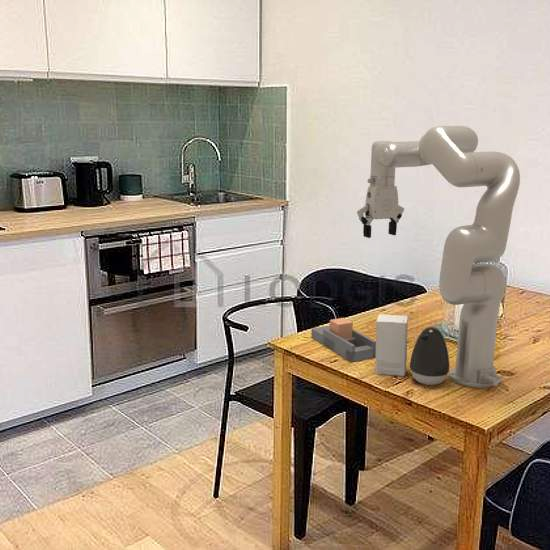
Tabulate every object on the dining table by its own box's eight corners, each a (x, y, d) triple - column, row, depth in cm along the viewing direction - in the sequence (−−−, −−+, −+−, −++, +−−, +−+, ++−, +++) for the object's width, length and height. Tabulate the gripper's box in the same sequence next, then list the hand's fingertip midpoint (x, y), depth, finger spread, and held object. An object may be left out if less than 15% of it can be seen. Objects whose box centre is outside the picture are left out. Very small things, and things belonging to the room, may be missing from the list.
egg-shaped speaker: (400, 381, 171) (404, 327, 168) (422, 370, 178) (426, 318, 175) (434, 393, 164) (438, 337, 161) (455, 381, 171) (459, 327, 168)
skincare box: (406, 368, 180) (409, 315, 176) (404, 377, 174) (407, 322, 170) (376, 365, 182) (379, 312, 178) (373, 374, 176) (376, 320, 172)
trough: (375, 357, 187) (376, 341, 186) (351, 362, 184) (352, 346, 183) (334, 333, 207) (334, 318, 206) (311, 337, 204) (311, 322, 202)
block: (352, 338, 195) (352, 322, 193) (338, 340, 192) (338, 324, 191) (343, 333, 199) (343, 317, 198) (329, 335, 197) (329, 319, 196)
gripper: (366, 184, 193) (363, 240, 197) (412, 181, 200) (409, 235, 205) (352, 181, 199) (350, 236, 204) (397, 179, 207) (394, 231, 211)
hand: (379, 235), depth 204 cm, fingers open, 9 cm apart
